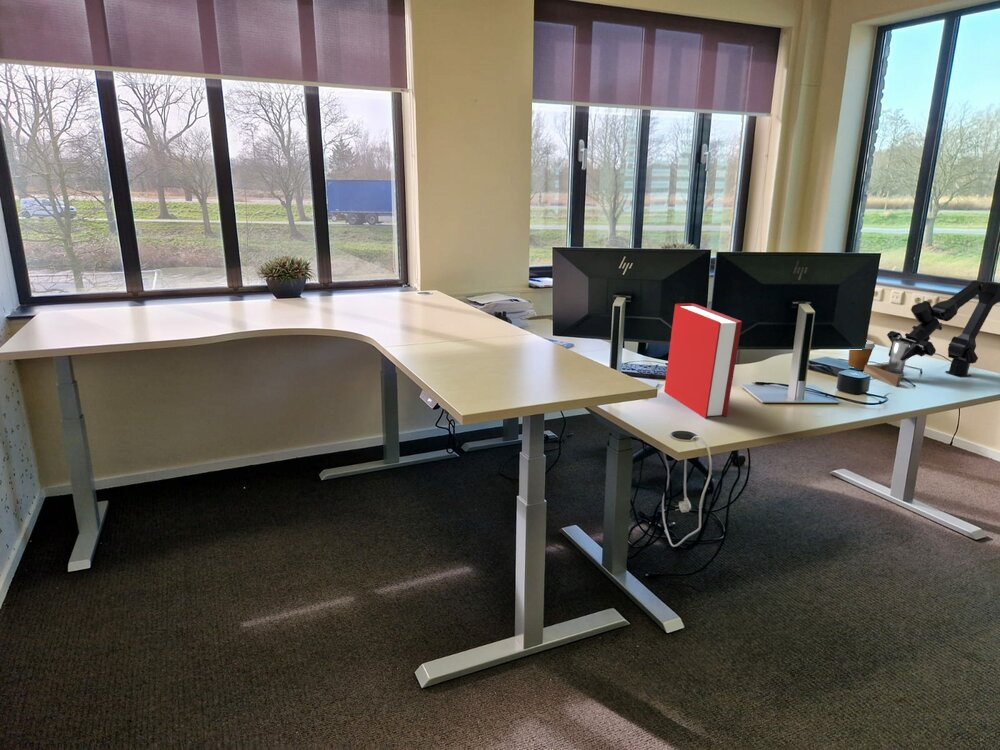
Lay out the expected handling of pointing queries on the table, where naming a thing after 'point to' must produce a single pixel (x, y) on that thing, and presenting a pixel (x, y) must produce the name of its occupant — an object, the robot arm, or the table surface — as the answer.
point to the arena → (882, 374)
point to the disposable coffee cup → (861, 356)
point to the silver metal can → (897, 357)
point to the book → (702, 359)
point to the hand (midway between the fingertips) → (895, 358)
